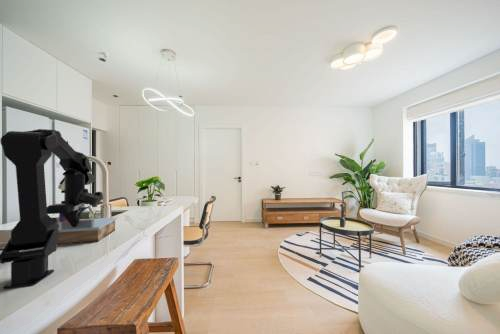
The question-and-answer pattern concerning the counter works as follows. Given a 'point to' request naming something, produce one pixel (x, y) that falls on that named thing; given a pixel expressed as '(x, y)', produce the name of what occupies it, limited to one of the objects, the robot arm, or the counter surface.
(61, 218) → the energy drink
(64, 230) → the lid
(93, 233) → the box
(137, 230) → the counter surface
